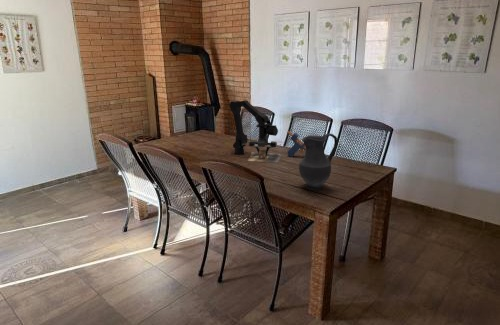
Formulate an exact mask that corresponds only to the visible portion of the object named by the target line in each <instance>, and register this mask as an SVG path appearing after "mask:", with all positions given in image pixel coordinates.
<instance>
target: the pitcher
mask: <svg viewBox="0 0 500 325" xmlns="http://www.w3.org/2000/svg"><path fill="white" fill-rule="evenodd" d="M328 137H331V138H333V140H334V141H333V142H334V144H333V147H332V149H331V151H330V153H329V155H328V157H327V156H326V154H325V151H324V150H325V149H324V147H325V142H326V141H327V139H328ZM338 141H339V140H338V138H337V136H336V135H334V134H333V133H330V132H329V133H326V134H323V135H317V134H316V135H315V134H312V135H311V134H310V135H309V134H308V135H306V136H304V137H302V138H301V142H303V143H304V144H305V146H306V151H305V153H304V156H303V158H302V160H301V161H299V165H298V171H299V175H300V177H301V179H303V181H304V182H305V183H306V184H305V185H304V187H305V188H306V189H307V190H311V191H321V190H322V189H323V187H324V186H323V185H324V184H325V183H326V182H328V180H329V179H330V176H331V172H332V160H333V157H334V155H335V152H336V151H337V148H338V146H339V145H338V143H339V142H338Z"/></svg>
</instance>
